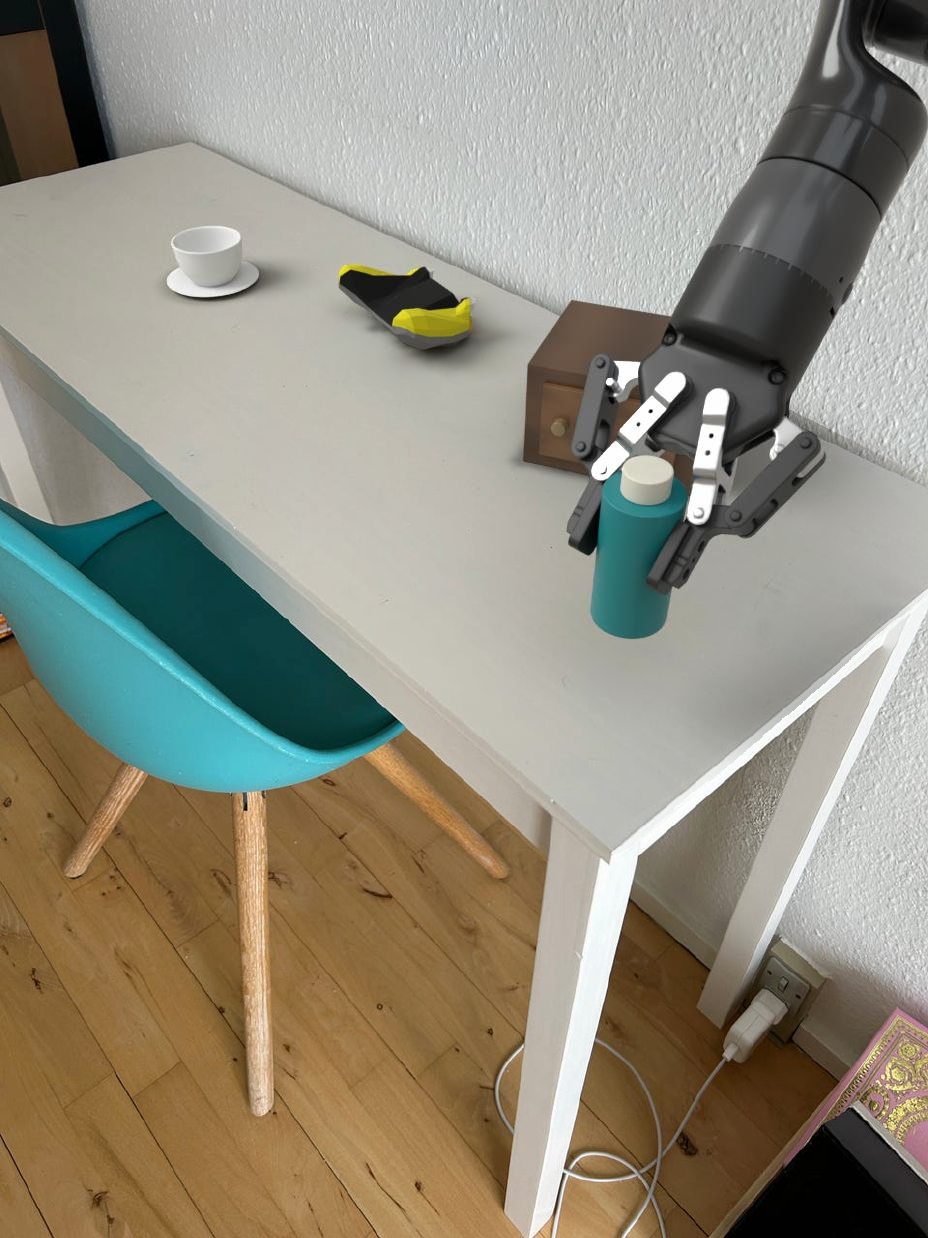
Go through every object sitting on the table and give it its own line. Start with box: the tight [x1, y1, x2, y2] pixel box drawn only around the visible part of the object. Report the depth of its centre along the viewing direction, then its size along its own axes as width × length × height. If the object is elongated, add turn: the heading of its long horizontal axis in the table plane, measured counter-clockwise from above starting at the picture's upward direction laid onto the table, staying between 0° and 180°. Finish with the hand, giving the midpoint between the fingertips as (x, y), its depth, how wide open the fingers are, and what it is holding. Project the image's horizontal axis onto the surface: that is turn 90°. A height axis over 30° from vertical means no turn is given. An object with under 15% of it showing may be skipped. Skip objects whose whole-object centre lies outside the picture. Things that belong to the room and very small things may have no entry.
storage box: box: [522, 299, 694, 496], centre depth 81 cm, size 14×13×9 cm
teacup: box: [166, 225, 260, 298], centre depth 106 cm, size 10×10×5 cm
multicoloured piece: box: [337, 263, 476, 350], centre depth 97 cm, size 15×6×10 cm
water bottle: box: [589, 455, 689, 640], centre depth 53 cm, size 4×4×10 cm
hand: (617, 568), depth 52 cm, fingers closed on water bottle, 4 cm apart
